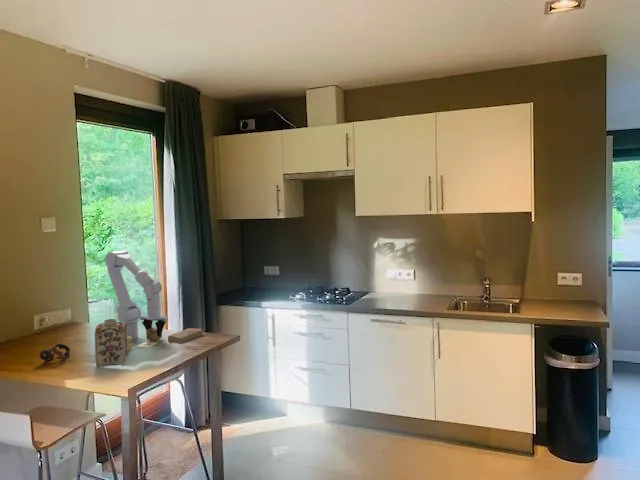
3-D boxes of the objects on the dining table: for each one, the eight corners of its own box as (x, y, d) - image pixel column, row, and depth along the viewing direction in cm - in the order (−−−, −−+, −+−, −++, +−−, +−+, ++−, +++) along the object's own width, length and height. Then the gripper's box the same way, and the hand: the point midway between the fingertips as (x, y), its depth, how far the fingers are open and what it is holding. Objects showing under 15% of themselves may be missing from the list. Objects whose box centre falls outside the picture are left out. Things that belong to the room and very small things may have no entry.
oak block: (116, 349, 230) (115, 338, 230) (123, 346, 235) (123, 335, 235) (125, 350, 229) (124, 339, 229) (132, 347, 234) (132, 336, 233)
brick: (180, 346, 240) (180, 336, 240) (166, 344, 243) (166, 334, 243) (203, 338, 255) (203, 328, 254) (190, 336, 258) (189, 327, 258)
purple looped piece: (57, 357, 226) (66, 341, 226) (67, 370, 222) (76, 354, 221) (31, 358, 216) (40, 341, 215) (41, 371, 211) (50, 354, 211)
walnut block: (146, 339, 243) (146, 329, 243) (153, 337, 248) (152, 326, 248) (155, 340, 242) (155, 330, 241) (162, 337, 247) (161, 327, 246)
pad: (143, 342, 243) (143, 341, 243) (153, 338, 250) (153, 337, 250) (156, 343, 241) (156, 342, 241) (165, 339, 248) (165, 338, 248)
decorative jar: (95, 367, 210) (93, 323, 209) (99, 359, 221) (97, 317, 220) (126, 364, 213) (124, 321, 212) (128, 356, 225) (126, 315, 223)
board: (111, 353, 229) (111, 350, 229) (145, 339, 252) (144, 337, 252) (138, 356, 225) (138, 353, 224) (170, 341, 247) (170, 338, 247)
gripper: (135, 308, 243) (136, 336, 244) (161, 309, 238) (162, 338, 239) (144, 305, 249) (145, 333, 250) (170, 306, 245) (171, 334, 246)
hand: (154, 335), depth 245 cm, fingers closed on walnut block, 5 cm apart
